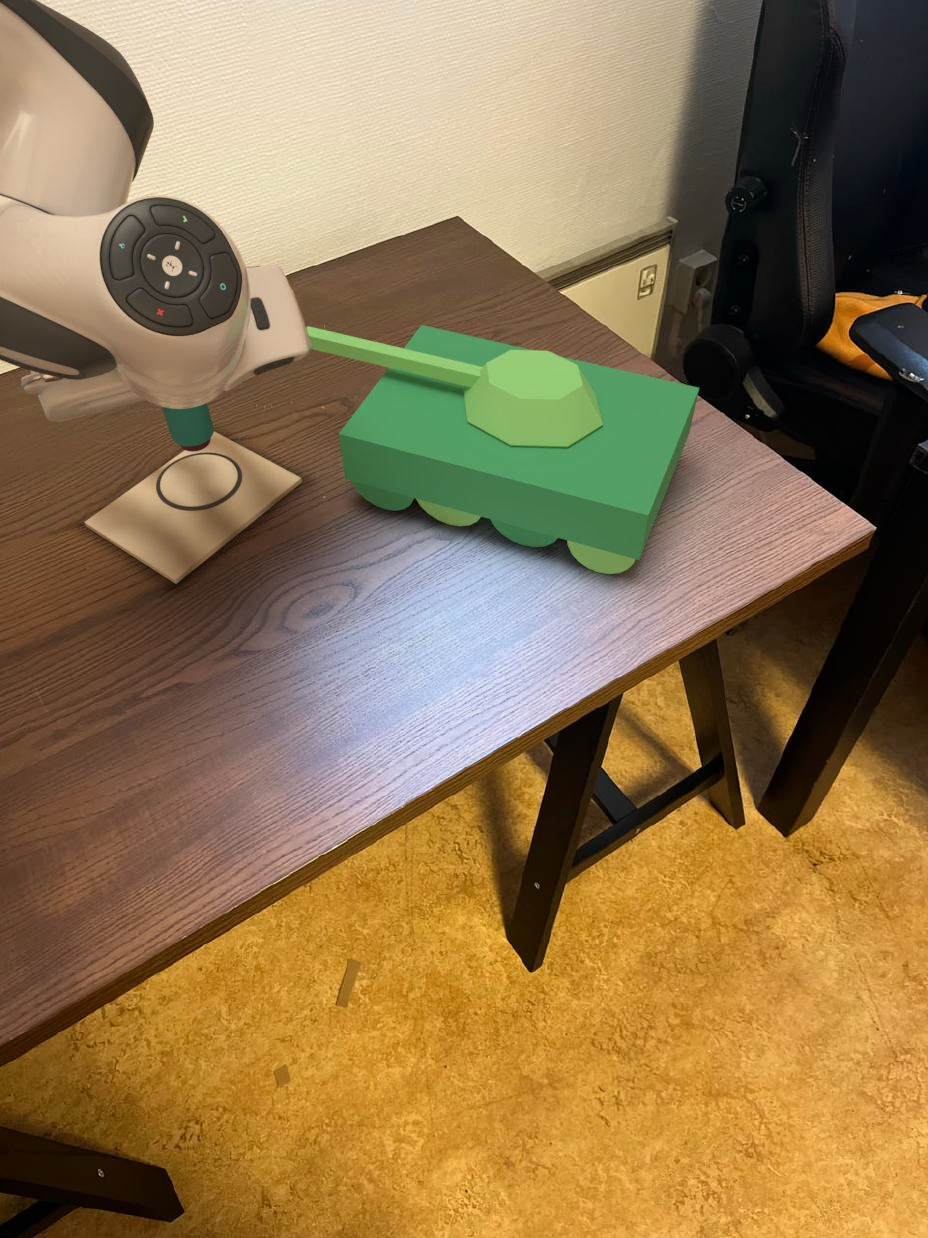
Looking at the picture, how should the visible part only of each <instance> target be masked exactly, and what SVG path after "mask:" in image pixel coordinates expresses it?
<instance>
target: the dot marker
mask: <svg viewBox="0 0 928 1238" xmlns="http://www.w3.org/2000/svg"><path fill="white" fill-rule="evenodd" d="M161 410H162V413H163V416H164V419H165V422H166V425H167V428H168V431H169V434H170V438H171V439H172V441H173V442H174V444H176V445H178V446H180V447H181V449H182V450H183V451H184V450H186V451H191V452H194V451H199V450H202V449H204V448H206V447H207V446H208V445H209V443H210V440H211V437H212V435H213V433H214V432H215V427H214V424H213V420H212V417H211V413H210V409H209V406H208V403H205V404H203V405H200V406H197V407H193V408H186V409H173V408H166V407H161Z"/></svg>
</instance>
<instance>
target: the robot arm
mask: <svg viewBox="0 0 928 1238" xmlns="http://www.w3.org/2000/svg"><path fill="white" fill-rule="evenodd" d="M154 126H155V120H154V115H153V112H152V109H151V106H150V104H149V101H148V99H147V97H146V94H145V92H144V90H143V87H142V85H141V84H140V81H139V80H138V78H137V75H136V74H135V72H134V71H133V69H132V67H131V65H130V64H129V62H128V61H127V60H126V58H125V56H124V55H123V54H122V53H121V52H120V51H119V50H118V49H117V48H116V47H115V46H113V45H112V44H111V43H109V42H108V41H107V40H106V39H104V38H103V37H101V36H100V35H98V34H97V33H95V32H93V31H92V30H91V29H89V28H88V27H86V26H84V25H82V24H80V23H78V22H76V21H75V20H74V19H71V18H70V17H68V16H66V15H64V14H62V13H61V12H59V11H57V10H55V9H54V8H51V7H49V6H48V5H46V4H44V3H42V2H40V1H38V0H0V361H2V362H4V363H8V364H10V365H13V366H15V367H19V368H21V369H24V370H27V371H30V374H26V375H25V376H22V377H21V379H20V381H21V383H20V385H21V387H22V388H23V390H24V391H25V392H26V393H27V395H29V396H37V398H38V401H39V402H40V405H41V407H42V410H43V413H44V414H45V418H46V420H47V421H48V422H51V423H64V422H68V421H69V422H70V421H72V420H76V419H79V418H83V417H87V416H90V415H94V414H95V415H96V414H98V413H101V412H105V411H110V410H113V409H117V408H120V407H124V406H128V405H132V404H135V403H138V402H144V401H146V402H148V403H150V404H152V405H155V406H158V407H161V408H162V407H166V408H173V409H186V408H193V407H197V406H200V405H203V404H205V403H207V404H208V403H209V402H211V401H213V400H215V399H216V398H217V397H219V396H220V395H221V394H223V393H224V391H225V392H228V391H231V390H232V389H234V388H236V387H237V386H239V385H241V384H242V383H244V382H246V381H248V380H249V379H251V378H253V377H255V376H260V375H262V374H264V373H267V372H269V371H272V370H276V369H278V368H281V367H284V366H287V365H290V364H292V363H294V362H298V361H300V360H302V359H304V358H305V357H307V356H308V355H310V354H311V352H312V350H313V349H312V345H311V342H310V338H309V335H308V332H307V329H306V328H307V326H306V322H305V319H304V317H303V313H302V311H301V308H300V305H299V303H298V299H297V297H296V294H295V291H294V290H293V289H292V287H291V285H290V283H289V281H288V279H287V275H285V273H284V270H283V268H282V267H281V266H280V265H276V264H269V265H268V264H267V265H255V266H246V263H245V259H244V257H243V255H242V253H241V251H240V249H239V248H238V246H237V244H236V243H235V242H234V240H233V237H231V236H230V234H229V233H228V232H227V230H226V229H225V228H224V227H223V226H222V225H221V224H220V222H218V221H217V220H216V219H215V218H214V216H212V215H211V214H209V213H208V212H207V211H205V210H204V209H203V208H201V207H200V206H198V205H196V204H194V203H192V202H190V201H188V200H185V199H183V198H179V197H175V196H171V195H164V194H163V195H162V194H159V195H157V194H156V195H147V196H141V197H138V198H135V199H132V200H130V201H128V199H129V196H130V192H131V187H132V185H133V184H132V183H133V182H134V181H135V179H136V177H137V175H138V173H139V169H140V166H141V164H142V161H143V158H144V156H145V153H146V151H147V148H148V145H149V142H150V139H151V137H152V134H153V131H154V128H155V127H154Z"/></svg>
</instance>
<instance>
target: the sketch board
mask: <svg viewBox="0 0 928 1238" xmlns="http://www.w3.org/2000/svg"><path fill="white" fill-rule="evenodd" d="M302 483H303V480H302V477H300V476H298V475H297V474H295V473H293V472H291V471H289V470H288V469H285V468H284V467H281V466H280V465H278V464H277V463H274V462H273V461H271V460H269V459H267V458H265V457H263V456H261V455H259V454H257V453H256V452H254V451H252V450H250V449H248V448H246V447H244V446H243V445H241V444H238V443H237V442H235V441H233V440H231V439H230V438H228V437H226V436H224V435H222V434H220V433H218V432H217V431H214V433H213V435H212V437H211V440H210V443H209V445H208V446H207V447H206V448H204V449H202V450H199V451H194V452H191V451H186V450H184V449H183V451H182V452H180V453H179V454H177V455H176V456H174V457H173V458H172V459H170V460H169V461H168V462H166V463H164V464H163V465H162V466H160V467H159V468H158V469H156V470H154V472H152V473H151V474H149V475H148V476H147V477H145V478H144V479H142V480H141V481H140V482H138V483H137V484H135V485H134V486H132V487H131V488H129V490H127V491H126V492H124V493H123V494H122V495H120V496H119V497H117V498H116V499H114V500H113V501H112V502H110V503H109V504H107V505H106V506H105V507H103V508H101V510H99V511H98V512H96V513H95V514H93V515H92V516H91V517H89V518H88V519H86V520H85V521H84V522H83V523H84V525H85V527H86V528H87V529H89V530H90V531H92V532H94V533H95V534H97V535H99V536H100V537H102V538H103V539H104V540H107V542H109V543H111V544H112V545H114V546H115V547H117V548H119V549H120V550H122V551H123V552H125V553H127V554H128V555H130V556H131V557H133V558H135V559H136V560H138V561H139V562H141V563H142V564H144V565H145V566H146V567H149V569H150V568H151V569H152V570H153V571H155V572H156V573H158V574H160V575H161V576H163V577H164V578H165V579H167V580H169V581H170V582H172V583H173V584H175V585H177V584H178V583H179V582H181V581H182V580H183V579H184V578H185V577H187V576H188V575H190V574H191V573H192V572H193V571H194V570H195V569H197V568H198V567H199V566H200V565H202V564H203V563H204V562H206V561H207V560H208V559H210V557H211V556H213V555H214V554H216V553H217V552H218V551H219V550H220V549H221V548H222V547H224V546H225V545H226V544H228V543H229V542H230V541H231V540H233V539H234V538H235V537H236V536H238V535H239V534H240V533H241V532H242V531H244V530H245V529H246V528H248V527H249V526H250V525H251V524H253V523H254V522H255V521H256V520H258V519H259V518H261V516H262V515H263V514H265V513H266V512H268V511H269V510H270V509H271V508H272V507H274V506H275V505H276V504H277V503H279V502H280V501H281V500H282V499H283V498H285V497H287V495H288V494H290V493H291V492H292V491H293V490H295V489H296V488H297V487H298V486H300V485H301V484H302Z"/></svg>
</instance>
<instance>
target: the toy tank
mask: <svg viewBox="0 0 928 1238" xmlns="http://www.w3.org/2000/svg"><path fill="white" fill-rule="evenodd" d="M306 329H307V332H308V335H309V338H310V342H311V345H312V350H314V351H318V352H322V353H327V354H329V355H330V354H331V355H334V356H335V355H336V356H340V357H343V358H348V359H351V360H356V361H360V362H363V363H367V364H372V365H376V366H380V367H385V368H387V370H386V371H385V373H384V374H383V375H382V376H381V378H380V379H379V380H378V381H377V383H376V384H375V386H374V387H373V388H372V389H371V391H369V393H368V395H367V396H366V397H365V398H364V400H363V402H361V404H360V405H359V406H358V407H357V409H356V410H355V411H354V413H353V415H352V416H351V417H350V418H349V420H348V421H347V422H346V423H345V425H344V426H343V427H342V429H341V430H340V431H339V432H338V439H339V447H340V453H341V461H342V469H343V475H344V480H347V481H351V484H352V485H353V486H354V488H355V490H356V491H357V492H358V494H360V496H362V497H363V499H364V500H366V501H368V502H370V503H371V504H372V505H374V506H376V507H378V508H381V509H383V510H387V511H392V512H394V511H395V512H397V511H402V510H403V511H404V510H405V509H408V507H410V506H411V504H412V503H413V501H414V500H416V501H417V503H418V505H419V507H421V508H422V509H423V510H424V511H425V512H426V513H427V514H428V515H430V516H431V517H433V519H436V520H437V521H439V522H441V523H444V524H446V525H449V526H456V527H466V526H471V525H473V524H475V523H477V522H478V521H480V519H481V518H485V519H489V520H490V522H491V524H492V525H493V527H494V528H495V529H496V530H497V531H498V532H499V533H500V534H501V535H502V536H503V537H505V538H507V539H508V540H510V541H511V542H514V543H516V544H519V545H521V546H525V547H529V548H540V547H541V548H542V547H546V546H549V545H552V544H554V543H555V542H556V541H557V540H558V539H561V540H563V541H564V540H565V541H566V542H567V544H566V545H567V547H568V549H569V551H570V554H571V555H572V556H573V558H575V559H576V561H577V562H578V563H579V564H581V565H582V566H584V567H585V568H587V569H589V570H592V571H594V572H596V573H599V574H606V575H613V574H614V575H615V574H621V573H623V572H625V571H627V570H629V569H630V568H631V567H632V566H633V565H634V564H635V562H636V560H637V561H641V557H642V556H643V552H644V550H645V547H646V545H647V542H648V539H649V538H650V534H651V533H652V530H653V527H654V525H655V522H656V520H657V516H658V514H659V511H660V510H661V507H662V504H663V501H664V499H665V496H666V494H667V491H668V489H669V486H670V483H671V481H672V479H673V476H674V474H675V471H676V469H677V467H678V463H679V461H680V458H681V455H682V453H683V450H684V448H685V446H686V443H687V440H688V437H689V435H690V431H691V428H692V424H693V423H692V422H693V419H694V414H695V409H696V405H697V402H698V397H699V392H700V387H699V386H698V387H697V386H693V385H689V384H684V383H679V382H675V381H671V380H667V379H662V378H657V377H654V376H650V375H649V376H648V375H646V374H645V375H644V374H640V373H636V372H631V371H626V370H623V369H617V368H614V367H609V366H604V365H600V364H596V363H593V362H592V363H591V362H587V361H583V360H579V359H573V358H570V357H565V356H561V355H558V354H556V353H554V352H551V351H549V350H537V349H530V348H525V347H521V346H516V345H512V344H507V343H503V342H500V341H499V342H498V341H494V340H489V339H486V338H481V337H476V336H472V335H469V334H468V335H467V334H463V333H459V332H455V331H450V330H446V329H445V330H444V329H442V328H438V327H437V328H436V327H432V326H429V325H423V324H421V325H420V326H419V328H418V329H417V330H416V332H415V333H414V335H413V336H412V337H411V338H410V339H409V341H408V342H407V343H406V345H405V346H404V347H399V346H394V345H391V344H386V343H382V342H377V341H375V340H374V341H373V340H369V339H364V338H361V337H356V336H352V335H347V334H344V333H339V332H335V331H331V330H326V329H322V328H319V327H314V326H309V325H308V326H306Z"/></svg>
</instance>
